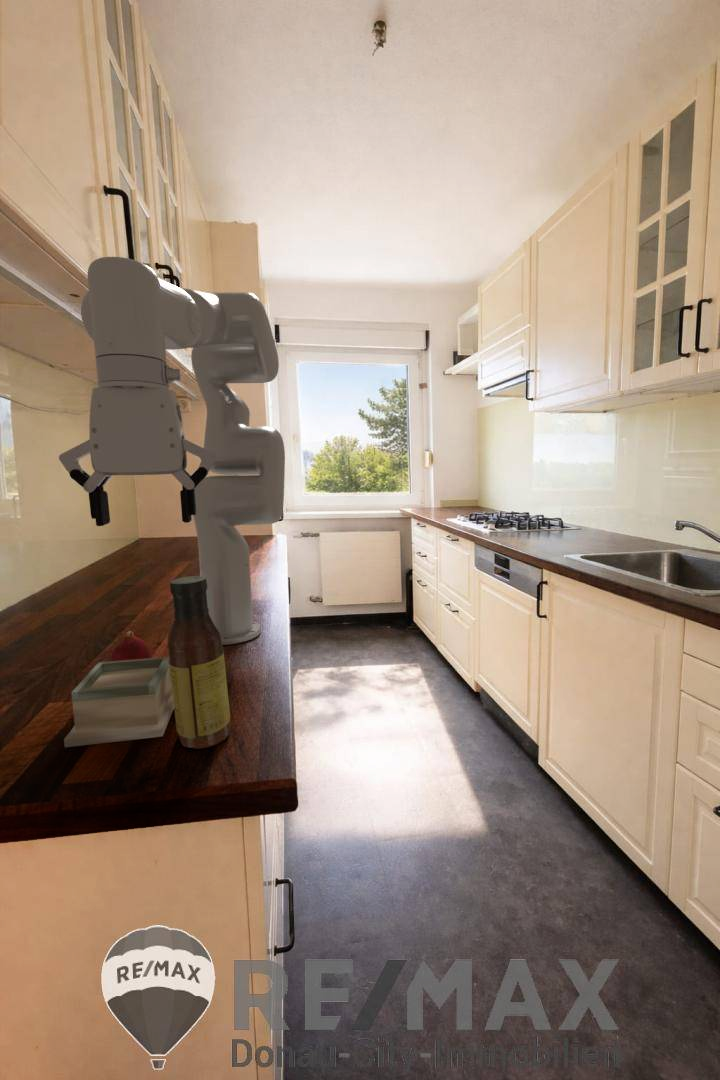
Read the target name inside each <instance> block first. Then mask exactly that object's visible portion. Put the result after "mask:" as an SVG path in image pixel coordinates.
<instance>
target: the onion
mask: <svg viewBox="0 0 720 1080" xmlns="http://www.w3.org/2000/svg"><path fill="white" fill-rule="evenodd" d="M147 658H153V655H152V650H151V648H150V646H149V645H148V643H147V642H146V641H145V640H144V639H141V638H139V637H136V636H135V632H134V631H130V630H128V632H126V633H125V637H124V638H123V639H122V640H121V641H119V643H117V645H116V646H114V649H113V650H112V652H111V656H110V662H111V661H123V660H135V659H147Z"/></svg>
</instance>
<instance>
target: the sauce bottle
mask: <svg viewBox="0 0 720 1080" xmlns="http://www.w3.org/2000/svg"><path fill="white" fill-rule="evenodd" d="M169 589H170V593H171V595H172V600H173V607H174V610H173V611H174V613H173V616H174V621H173V624H172V626H171V628H170V630H169V632H168V634H167V635H168V636H167V646H166V647H167V648H168V649H167V650H168V657H169V659H170V660H169V667H170V675H171V683H172V692H173V701H174V710H173V711H174V718H175V726H176V728H175V729H176V732H177V734H178V738H179V741H180V743H181V746H183V747H184V748H188V749H189V748H190V749H197V750H199V749H200V750H202V749H207V748H211V747H213V746H216V745H219V744H220V743H221V742H223V741H226V738H228V737H229V734H230V732H231V722H230V721H231V712H230V702H229V694H228V693H229V692H228V684H227V683H228V682H227V674H226V664H225V663H226V662H225V661H226V660H225V653H224V647H223V646H224V645H222V642H221V637H220V633H219V631H218V630H217V628H216V627H215V625H214V623H213V621H212V619H211V617H210V615H209V609H208V605H207V595H206V590H207V581H206V578H205V577H202V576H200V575H192V576H191V575H189V576H188V575H187V576H182V577H177V578H175V579H172V580H171V581H170V582H169Z"/></svg>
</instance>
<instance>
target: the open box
mask: <svg viewBox="0 0 720 1080" xmlns="http://www.w3.org/2000/svg"><path fill="white" fill-rule="evenodd" d="M169 660H170V659H169V656H164V657H163V656H160V657H152V658H147V659H135V660H123V661H111V660H110V661H99V662H98V663H96V664H95V666H93V668H92V669H91V670H90V671H89V672H88V674H86V675H85V677H84V678H83V679H82V680H81V681H80V682H79V683H78V685H76V687H75V688H74V689H73V690H72V691H70V693H71V702H72V703H71V704H72V712H73V723H74V725H73V727H72V729H71V730H70V731H69V732H68V733H67V735H66V736H65V737H64V739H63V744H64V748H70V747H80V746H88V745H89V746H91V745H98V744H106V743H113V742H114V743H117V742H125V741H135V740H143V739H150V738H151V739H152V738H160V737H164V734H165V731H166V729H167V726H168V724H169V722H170V720H171V718H172V717H171V716H172V715H173V711H175V710H174V701H173V692H172V683H171V675H170V667H169Z"/></svg>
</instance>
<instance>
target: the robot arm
mask: <svg viewBox="0 0 720 1080" xmlns="http://www.w3.org/2000/svg"><path fill="white" fill-rule="evenodd" d="M87 285H88V291H87V292H86V293H85V295H84V296H83V298H82V301H81V305H80V306H81V307H80V314H81V315H80V316H81V321H82V325H83V327H84V329H85V331H86V333H87V335H88V336H89V338H90V339H91V340H92V341H93V346H94V357H95V368H96V377H97V378H96V379H97V387H93V388H92V391H91V396H90V398H91V399H90V407H89V424H88V425H89V429H88V430H89V439H88V440H86V441H84V442H82V443H80V444H78V445H76V446H74V447H72V448H69V449H68V450H66V451H64V452H62V453H60V454H59V456H58V460H59V461H60V463H61V464H62V466H63V467H64V469H65V470H66V471H67V473H68V474H69V477H70V479H72V480H73V481H74V482H76V483H77V484H78V485H79V486H81V487H82V488H83V490H84V491H85V492H87V493H88V500H89V510H90V517H91V519H93V520H95V524H96V525H95V526H96V527H103V526H106V525H108V524H110V522H111V516H110V507H109V496H108V492H107V490H105V489H104V487H105V485H106V484H107V483H108V482H109V480H110V479H111V477H112V476H152V475H153V476H155V475H159V476H161V475H172V476H173V477H174V478H175V479H176V480H177V481H178V482H179V483H180V484H181V485H182V486H181V488H182V489H181V490H180V492H179V495H180V505H181V506H180V507H181V520H182V521H181V522H182V523H186V524H187V523H190V522H191V521H192V520H193V521H194V525H195V530H196V538H197V547H198V560H199V576H202V577H205V578H206V581H207V590H206V595H207V605H208V609H209V615H210V617H211V619H212V621H213V623H214V625H215V627H216V628H217V630H218V631H219V633H220V637H221V642H222V646H226V645H235V644H241V643H244V642H248V641H250V640H253V639H255V638H256V637H258V636H259V635H260V634H261V633H262V628H261V627H262V626H261V625H260V624H259V623H258V622H255V621H253V620H254V619H253V599H252V580H251V578H252V577H251V562H250V561H251V559H250V556H251V555H250V548H249V544H248V542H247V540H246V539H245V537H244V536H243V535H242V533H241V532H240V531H239V530H238V529H237V528H236V526H255V525H258V526H259V525H260V526H261V525H272V524H275V523H277V522H279V520H280V519H281V518H282V516H283V511H284V504H285V503H284V501H285V473H286V471H285V469H286V468H285V467H286V456H285V455H286V452H285V444H284V443H285V442H284V439H283V436H282V435H281V433H280V432H279V431H278V429H276V428H274V427H271V426H265V425H262V426H261V425H258V426H250V416H251V415H250V414H251V413H250V408H249V407H248V405H247V403H246V402H245V401H244V400H243V398H242V397H241V396H240V395H239V394H238V393H237V392H235V391H234V389H232V388H231V387H230V386H229V384H263V383H269V382H272V381H274V380H275V379H276V377H277V375H278V373H279V367H280V366H279V365H280V364H279V363H280V362H279V356H278V351H277V346H276V343H275V339H274V336H273V335H274V334H273V331H272V328H271V324H270V320H269V317H268V314H267V312H266V309H265V307H264V305H263V303H262V301H261V299H259V298H258V296H257V295H255V294H254V293H252V292H248V291H245V292H242V291H240V292H239V291H237V292H229V291H228V292H211V291H210V292H209V291H208V292H207V291H202V290H195V289H191V288H182V287H181V288H180V286H179V287H178V286H177V285H176V284H173V283H170V282H167V281H166V280H164V279H161V278H160V277H158V275H157V273H156V272H155V270H153V268H151V267H150V266H149V265H148V264H146V263H144V262H141V261H138V260H136V259H132V258H127V257H122V256H104V257H99V258H96V259H95V260H93V261H91V263H90V264H89V266H88V269H87ZM182 349H192V350H191V355H190V357H191V358H190V359H191V365H192V369H193V370H192V371H193V373H194V376H195V380H196V383H197V385H198V389H199V390H200V394H201V395H202V398H203V400H204V403H205V407H206V418H205V419H206V422H205V428H204V429H205V430H204V431H205V432H204V442H203V447H202V446H200V445H197V444H196V443H194V442H192V441H189V440H187V439H185V430H184V424H183V418H182V413H181V407H180V403H179V399H178V395H177V393H176V392H175V391H174V390H172V389H169V388H170V385H171V384H172V383H174V382H176V381H177V382H180V381H181V372H180V371H181V370H180V369H179V368H173V367H170V366H169V365H168V364H167V353H166V350H167V351H168V350H170V351H171V350H182ZM187 452H188V453H190V454H192V455H193V456H196V457H198V458H199V459H200V464H199V465H198V468H197V469H196V470H195V471H194V472H193V473H192V475H191V474H190V473H189V472H188V471H187V470H186V469H187V465H188V457H187ZM88 455H90V462H91V467H92V469H93V470H94V471H93V473H92V474H89V473H87V472H86V471H85V470H83V468H82V467H81V464H80V463H79V461H80V460H81V459H82V458H84V457H86V456H88ZM209 472H212V473H213V474H217V475H212V476H211V475H210V476H207V475H208V474H209ZM192 517H193V519H192Z"/></svg>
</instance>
